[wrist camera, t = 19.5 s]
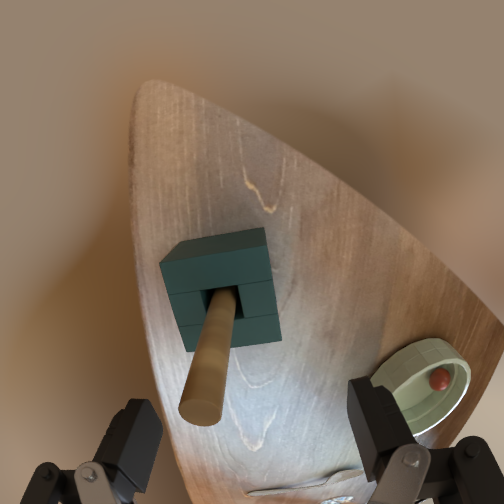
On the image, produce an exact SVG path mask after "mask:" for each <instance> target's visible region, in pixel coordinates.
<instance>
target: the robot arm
mask: <svg viewBox="0 0 504 504" xmlns="http://www.w3.org/2000/svg"><path fill="white" fill-rule="evenodd" d="M347 413H348V418H349V421H350V424H351V428H352V431H353V434H354V437H355V440H356V444H357V447H358V450H359V454H360V457H361V460H362V464H363V467H364V470H365V474H366V477H367V481H368V482H372V481H375V480H376V482H377V487H376V489H375V490H374V492H373V494H372V496H371V498H370V500H369V501H368V503H367V504H415V502H416V500H419V499H428V498H432V499H433V502H434V504H504V476H503V474H502V472H501V470H500V468H499V466H498V464H497V462H496V460H495V458H494V456H493V454H492V452H491V450H490V448H489V446H488V444H487V443H486V441H485V440H484V439H482V438H480V437H477V436H468V437H465V438H463V439H461V440H460V441H459V442H458V443H457V445H456V446H455V447H450V448H443V449H427V448H425V447H424V446H422V445H419V444H418V443H417V442H416V440H415V438H414V436H413V434H412V432H411V430H410V428H409V426H408V424H407V422H406V420H405V418H404V416H403V414H402V412H401V411H400V408H399V406H398V404H397V403H396V400H395V398H394V396H393V394H392V392H390V391H389V390H388V389H387V388H385V387H384V386H383V385H380V386H377V387H373V385H372V383H371V381H370V379H369V377H368V376H364V377H360V378H356V379H352V380H349V381H348V395H347ZM162 434H163V426H162V423H161V420H160V419H159V417H158V415H157V413H156V412H155V410H154V408H153V406H152V405H151V402H150V401H149V400H148V399H130V400H129V401H128V404H127V405H126V407H125V409H121V410H120V411H119V412H118V413H117V414H116V415H115V416H114V417H113V419H112V421H111V423H110V425H109V428H108V429H107V431H106V435H104V437H103V439H102V441H101V444H100V446H99V448H98V450H97V452H96V454H95V456H94V458H93V460H92V461H88V462H85V463H82V464H81V465H80V466H79V467H78V468H77V469H76V470H60V469H59V468H58V467H57V466H56V465H55V464H54V463H51V462H45V463H42V464H40V465H39V466H38V467H37V468H36V470H35V472H34V474H33V476H32V478H31V480H30V482H29V484H28V487H27V489H26V491H25V493H24V495H23V498H22V500H21V502H20V504H58V502H61V503H62V504H137V502H136V500H135V498H134V497H133V496H134V493H135V492H139V493H145V491H146V488H147V484H148V481H149V478H150V474H151V471H152V467H153V464H154V461H155V457H156V454H157V451H158V448H159V444H160V441H161V438H162Z"/></svg>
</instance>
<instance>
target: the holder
mask: <svg viewBox="0 0 504 504" xmlns="http://www.w3.org/2000/svg"><path fill="white" fill-rule="evenodd" d="M159 264H160V268H161V272H162V275H163V279H164V283H165V286H166V290H167V293H168V296H169V300H170V303H171V306H172V310H173V313H174V316H175V319H176V322H177V326H178V328H179V331H180V334H181V337H182V340H183V343H184V346H185V349H186V352H195V350H196V347H197V343H198V340H199V337H200V334H201V330H202V327H203V324H204V321H205V318H206V314H207V311H208V308H209V305H210V302H211V299H212V296H213V292H214V289H215V288H219V287H225V286H232V285H238V293H237V300H236V308H235V316H234V323H233V331H232V339H231V347H230V348H234V347H242V346H249V345H257V344H264V343H270V342H277V341H282V336H281V329H280V323H279V316H278V310H277V304H276V297H275V291H274V285H273V278H272V272H271V266H270V260H269V254H268V248H267V242H266V236H265V230H264V227H262V228H256V229H250V230H244V231H238V232H232V233H226V234H221V235H215V236H209V237H204V238H198V239H193V240H187V241H182V242H179V243H178V244H177V245H176V247H175V248H174V249H173V250H172V251H171V252H170V253H169V254H168V255H167V256H166V257H165V258H164V259H163V260H162V261H161V262H160V263H159Z"/></svg>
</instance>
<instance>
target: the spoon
mask: <svg viewBox="0 0 504 504" xmlns="http://www.w3.org/2000/svg"><path fill="white" fill-rule="evenodd" d="M363 473H364V471H363V470H356V469H354V470H344V471H340V472H337V473H335V474H333V475H332V476H331V477H329V479H328V480H327V481H326V482H325V483H323V484H320V485H315V486H309V487H302V488H288V489H273V490H262V491H253V492H250V493H248V495H250V496H261V495H268V494H276V493H284V492H292V491H298V490H305V489H310V488H317V487H323V486H327V485H330V484H334V483H337V482H340V481H344V480H346V479H350V478H353V477H356V476H359V475H361V474H363Z"/></svg>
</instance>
